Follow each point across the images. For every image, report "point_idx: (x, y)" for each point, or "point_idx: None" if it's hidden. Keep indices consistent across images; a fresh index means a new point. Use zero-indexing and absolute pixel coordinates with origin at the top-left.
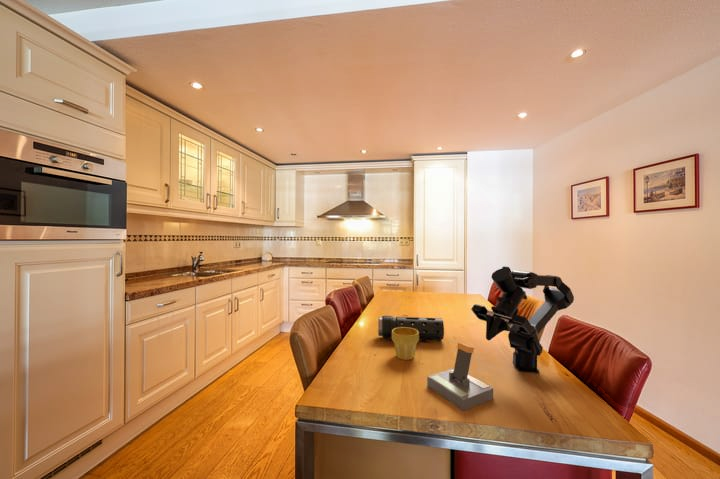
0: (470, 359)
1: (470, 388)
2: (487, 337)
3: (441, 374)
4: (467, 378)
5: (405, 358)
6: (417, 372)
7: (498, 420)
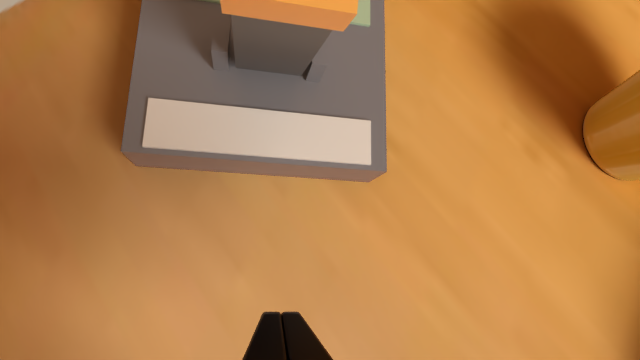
0: (233, 27)
1: (194, 51)
2: (275, 317)
3: (366, 52)
4: (222, 46)
5: (591, 108)
6: (473, 70)
7: (26, 36)
